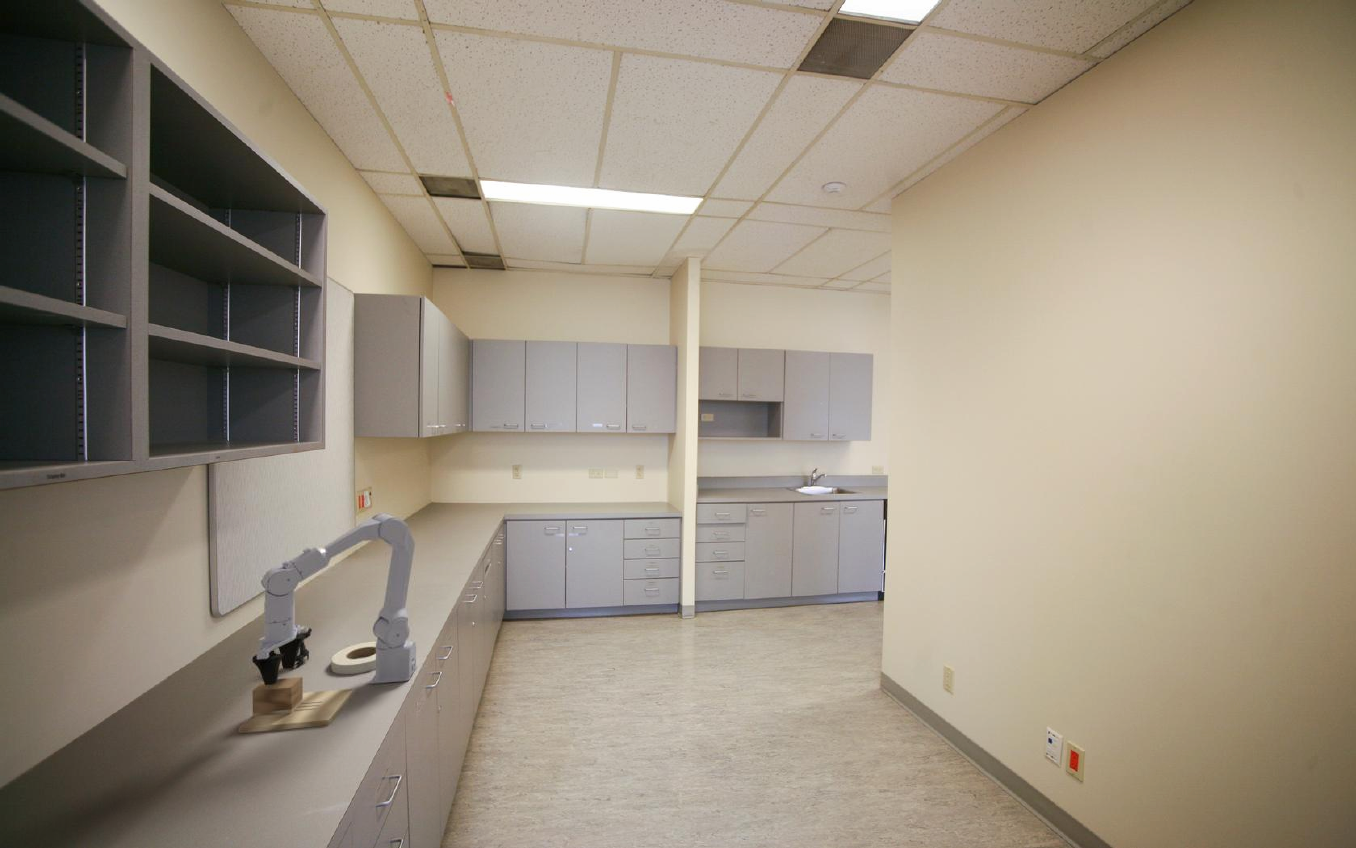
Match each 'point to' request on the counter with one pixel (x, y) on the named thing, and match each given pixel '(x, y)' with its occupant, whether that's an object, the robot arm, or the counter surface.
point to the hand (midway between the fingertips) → (279, 675)
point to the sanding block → (278, 697)
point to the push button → (303, 647)
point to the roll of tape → (348, 665)
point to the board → (303, 712)
